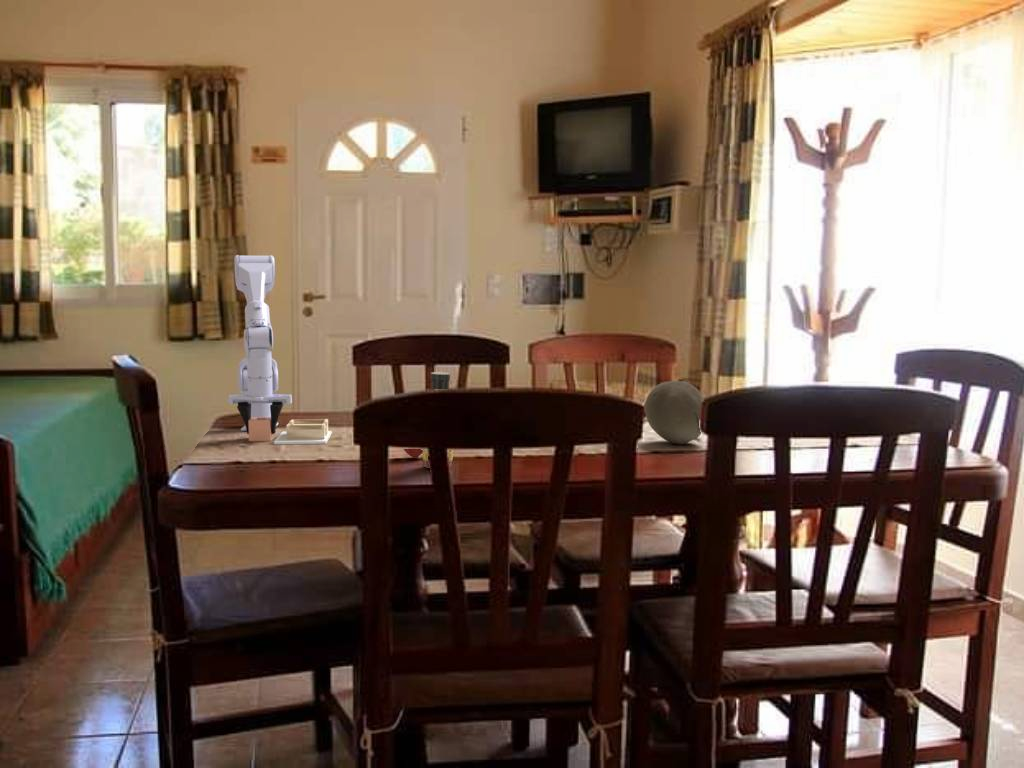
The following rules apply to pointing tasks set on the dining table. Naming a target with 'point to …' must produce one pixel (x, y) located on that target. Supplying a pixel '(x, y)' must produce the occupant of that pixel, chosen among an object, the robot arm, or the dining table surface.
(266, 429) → the terracotta block
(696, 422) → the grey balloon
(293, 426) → the birch tray
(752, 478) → the dining table surface
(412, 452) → the onion
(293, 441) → the white board
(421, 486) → the dining table surface
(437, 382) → the sauce bottle
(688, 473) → the dining table surface
